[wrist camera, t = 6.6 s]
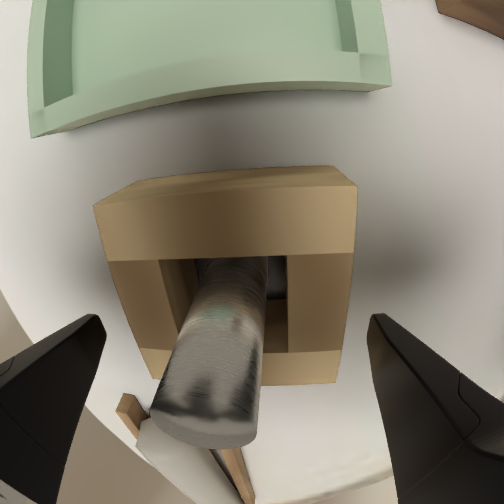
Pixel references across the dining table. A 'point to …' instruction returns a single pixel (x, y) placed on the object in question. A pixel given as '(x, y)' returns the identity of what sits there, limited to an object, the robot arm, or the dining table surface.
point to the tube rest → (233, 458)
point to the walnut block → (476, 13)
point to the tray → (193, 53)
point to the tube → (186, 466)
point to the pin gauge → (217, 359)
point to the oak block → (237, 245)
